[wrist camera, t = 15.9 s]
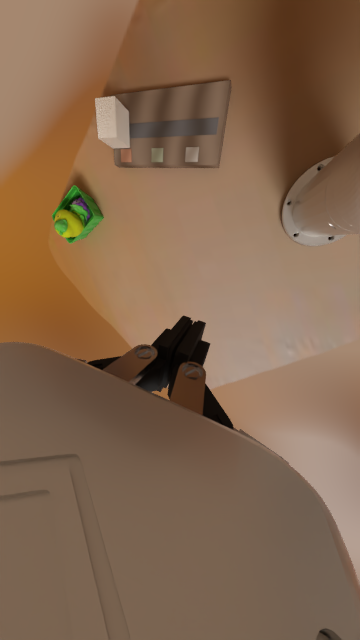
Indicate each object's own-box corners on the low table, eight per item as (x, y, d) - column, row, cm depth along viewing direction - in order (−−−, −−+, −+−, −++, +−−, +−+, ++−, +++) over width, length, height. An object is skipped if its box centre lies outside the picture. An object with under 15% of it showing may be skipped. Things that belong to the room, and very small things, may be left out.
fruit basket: (92, 188, 41) (45, 173, 32) (113, 223, 43) (74, 219, 34) (68, 218, 47) (23, 212, 37) (88, 248, 49) (49, 250, 39)
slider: (128, 111, 32) (114, 95, 28) (129, 147, 34) (116, 137, 30) (110, 113, 33) (95, 98, 29) (112, 148, 35) (98, 138, 31)
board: (231, 87, 27) (230, 78, 26) (218, 167, 32) (217, 164, 30) (115, 100, 33) (110, 94, 32) (119, 167, 37) (114, 164, 36)
